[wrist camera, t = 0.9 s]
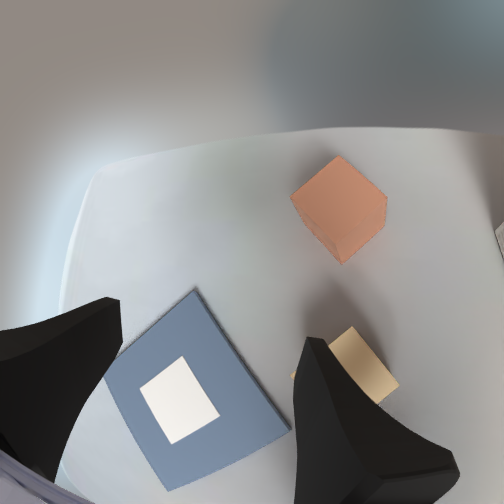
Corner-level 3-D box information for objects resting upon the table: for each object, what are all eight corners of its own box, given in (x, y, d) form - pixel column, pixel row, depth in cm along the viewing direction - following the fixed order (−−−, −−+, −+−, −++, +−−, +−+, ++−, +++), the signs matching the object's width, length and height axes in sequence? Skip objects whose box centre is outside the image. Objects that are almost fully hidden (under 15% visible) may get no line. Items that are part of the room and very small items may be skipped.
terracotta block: (384, 226, 22) (387, 197, 18) (341, 264, 23) (335, 244, 18) (345, 188, 24) (338, 155, 20) (304, 224, 25) (289, 196, 20)
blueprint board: (291, 429, 20) (289, 431, 19) (171, 489, 21) (167, 492, 21) (196, 292, 26) (192, 290, 26) (105, 372, 27) (100, 372, 27)
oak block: (392, 376, 19) (399, 385, 14) (341, 415, 19) (335, 433, 15) (354, 329, 21) (352, 325, 16) (305, 368, 21) (289, 375, 17)
